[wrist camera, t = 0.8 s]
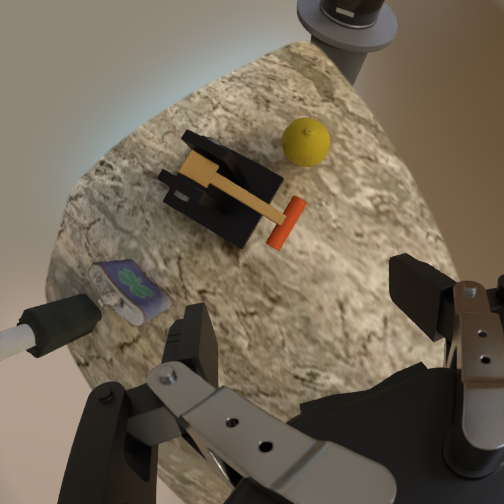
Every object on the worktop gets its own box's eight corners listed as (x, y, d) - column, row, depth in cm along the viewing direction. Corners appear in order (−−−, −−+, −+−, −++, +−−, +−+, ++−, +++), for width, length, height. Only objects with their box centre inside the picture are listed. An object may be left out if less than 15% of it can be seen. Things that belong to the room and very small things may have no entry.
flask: (176, 300, 38) (141, 321, 28) (163, 315, 39) (126, 339, 28) (129, 254, 39) (84, 258, 28) (118, 269, 39) (72, 278, 28)
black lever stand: (283, 180, 37) (286, 146, 23) (243, 248, 37) (222, 253, 24) (204, 137, 37) (168, 91, 24) (165, 202, 38) (111, 185, 24)
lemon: (275, 163, 37) (274, 143, 29) (291, 126, 36) (293, 100, 28) (315, 180, 36) (325, 164, 28) (330, 142, 36) (342, 119, 28)
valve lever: (301, 202, 30) (311, 205, 28) (274, 247, 31) (283, 253, 28) (198, 137, 26) (201, 133, 24) (168, 187, 26) (168, 188, 24)
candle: (83, 290, 40) (-52, 325, 15) (104, 314, 40) (-28, 370, 15) (69, 312, 40) (-55, 355, 15) (89, 335, 40) (-32, 396, 15)
